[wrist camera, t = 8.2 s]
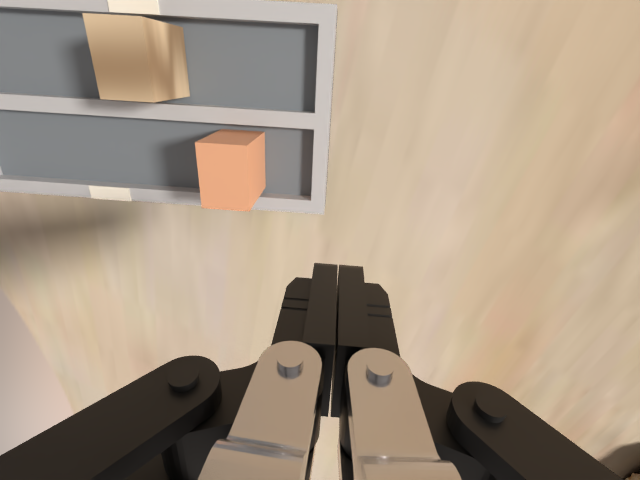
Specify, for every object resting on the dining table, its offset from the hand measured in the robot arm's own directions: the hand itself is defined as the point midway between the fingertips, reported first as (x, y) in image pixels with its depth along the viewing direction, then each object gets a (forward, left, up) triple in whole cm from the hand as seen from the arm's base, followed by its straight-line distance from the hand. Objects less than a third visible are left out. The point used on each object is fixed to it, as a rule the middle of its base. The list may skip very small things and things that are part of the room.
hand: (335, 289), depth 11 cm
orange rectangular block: (0, -7, -16) cm, 17 cm away
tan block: (-6, -12, -16) cm, 21 cm away
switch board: (-3, -14, -17) cm, 22 cm away
